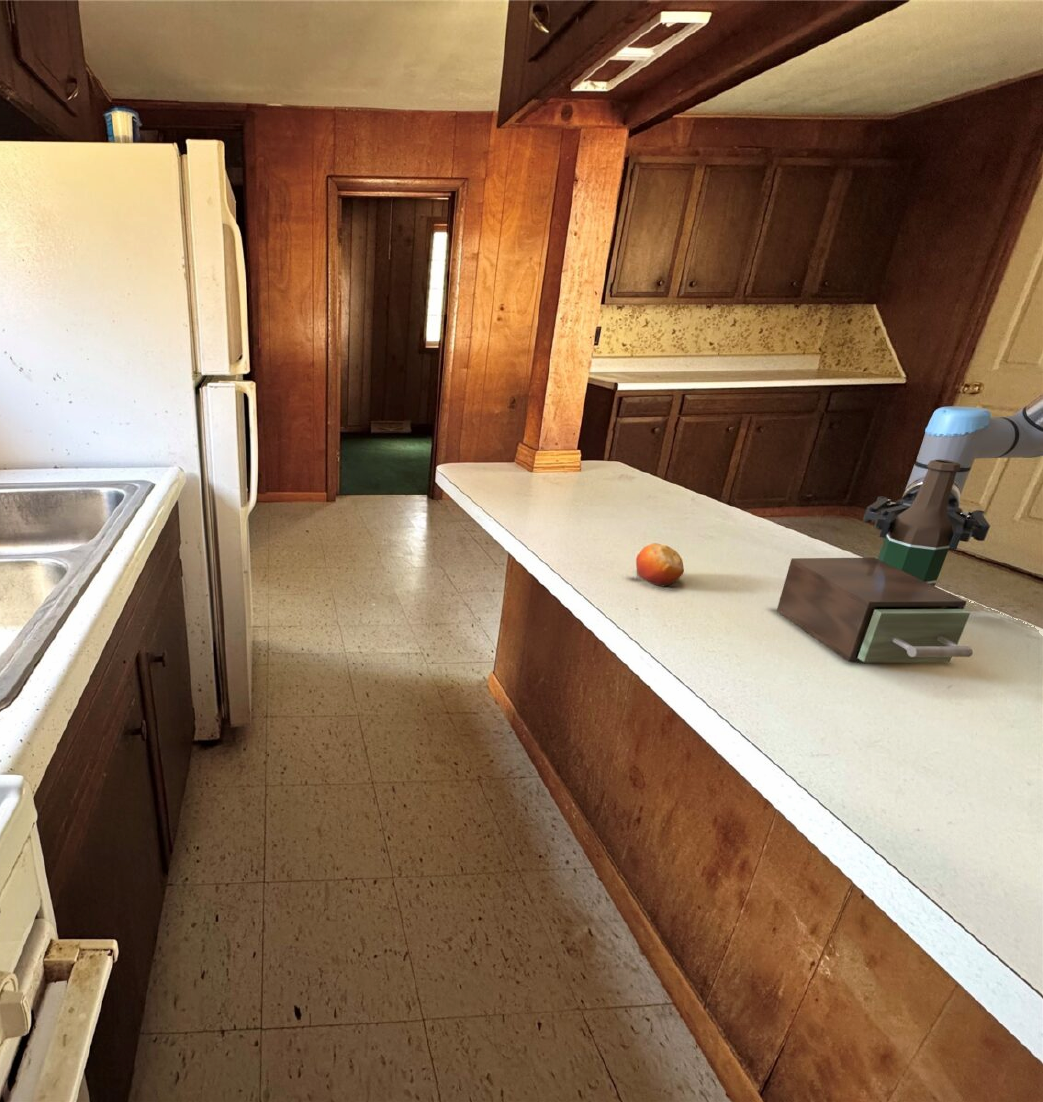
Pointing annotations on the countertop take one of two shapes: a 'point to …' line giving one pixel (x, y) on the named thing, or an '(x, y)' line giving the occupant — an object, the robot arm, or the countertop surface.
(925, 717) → the countertop surface
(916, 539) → the beer bottle
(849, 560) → the cabinet
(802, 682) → the countertop surface
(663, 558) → the fruit
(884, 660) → the drawer
